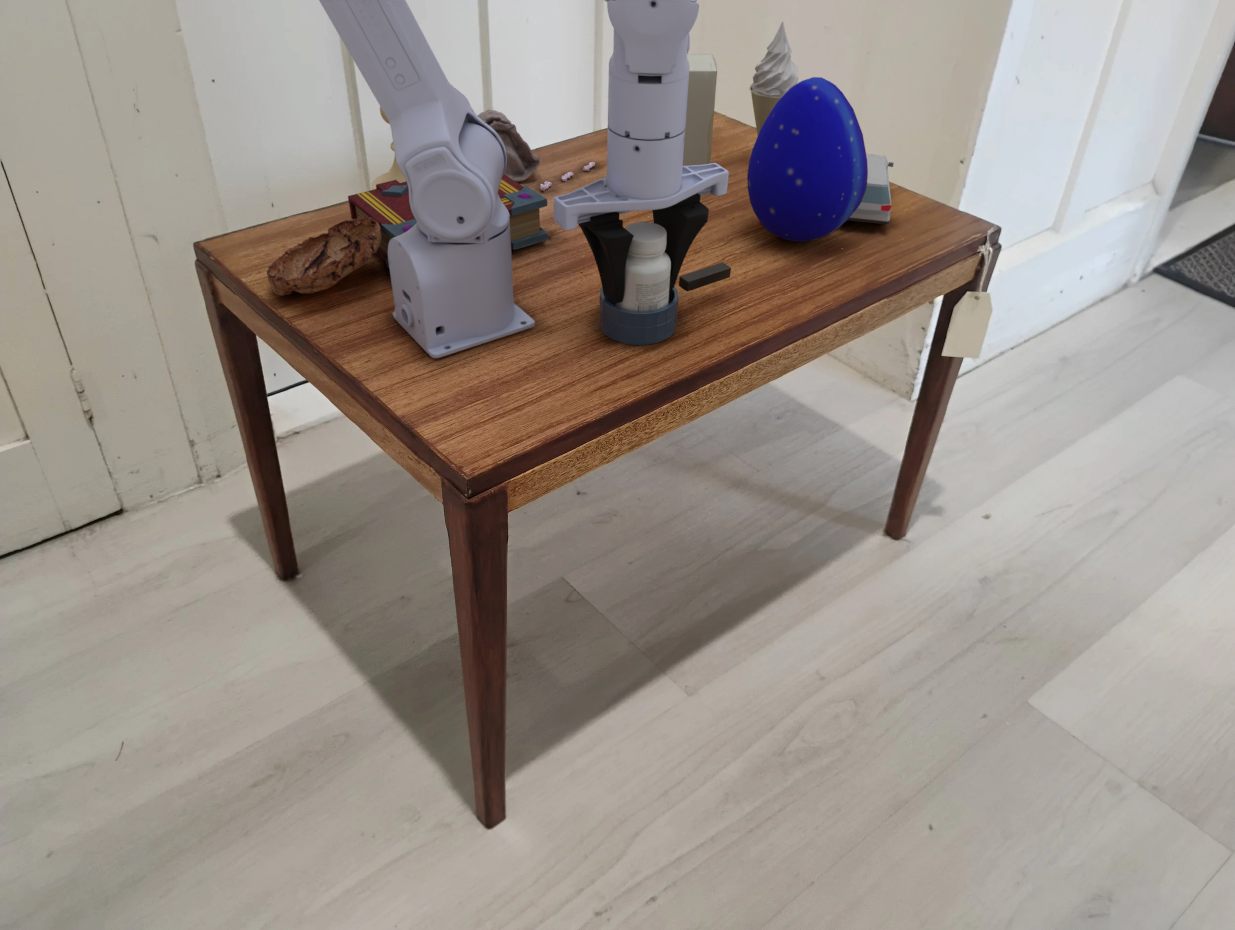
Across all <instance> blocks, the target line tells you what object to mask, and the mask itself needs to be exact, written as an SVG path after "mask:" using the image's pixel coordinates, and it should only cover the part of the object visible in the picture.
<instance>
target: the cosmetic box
mask: <svg viewBox="0 0 1235 930" xmlns="http://www.w3.org/2000/svg"><path fill="white" fill-rule="evenodd" d="M687 59H688V61H689V66H690V68H689V82H688V97H687V112H686V126H685V139H684V152H683V166H693V165H704V164H711V163H712V149H713V133H714V119H715V106H716V105H715V104H716V92H717V80H718V65H717V61H716V58H715V55H714V54H713V53H688V54H687Z"/></svg>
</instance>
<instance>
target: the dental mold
mask: <svg viewBox="0 0 1235 930" xmlns="http://www.w3.org/2000/svg"><path fill="white" fill-rule="evenodd" d="M477 116H478V117H479V118H480V119H481V120H482V121H484V122H485V123H486V124H488V125H489V126H490V127H492V128H493V129H494V130H495V131H496V132H497V134H498V135H499V136H500V138H501V140H502V142H503V143H504V146H505V149H506V154H507V165H506V170H505V173H504V174H505V175H506V176H508V177H509V178H511V179H512V180H514V181H515V182H522V181H526V180H528V179H529V178H530V177H531V176H532V175H533V174H534V173H535V171H537V170H538V169H539V167H540V165H541V158H540V156H538V155H536V154H535V153H533V151H532V149H531V147H530V146H529V144H528V143H527V141H525V140H524V138H523V137H522V136H521V134H520V132H518V131H517V125H516V124H514V123H512V121H511V120H510V119H509V118H508V117H507V116H506V115H505V114H504V113H503V112H500V111H497V110H494V109H486V110H485V111H482V112H480V113H478V114H477Z"/></svg>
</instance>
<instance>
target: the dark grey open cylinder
mask: <svg viewBox="0 0 1235 930" xmlns="http://www.w3.org/2000/svg"><path fill="white" fill-rule="evenodd" d="M679 295H680V294H679V291H678V289H677V287H676V285H675V286H674V288H672V289H669V305H667V306H666V307H664V308H661V309H658V310H654V311H646V312H639V311H629V310H624V309H621V308H618V307H616V306H615V303H613V302H612V301H611V300H610V299H609V298H608V297H607V296H606V295H605V294H603V288H602V286H601V287H600V289H599V309H598V310H599V311H598V312H599V313H598V314H599V315H598V316H599V317H598V319H599V320H598V321H599V322H598V323H599V329H600V330H601V332H602V333H603V334H604V335H605V336H606V337H607V338H609V339H611V340H613V341H616V342H617V343H621V344H624V345H630V346H631V345H632V346H647V345H648V346H649V345H655V344H659V343H661V342H663V341H665V340H668V339H669V338H670V337H672V335H674V334H675V332H676V330H677V325H678V313H679V311H678V310H679V297H680V296H679Z"/></svg>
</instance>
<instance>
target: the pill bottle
mask: <svg viewBox="0 0 1235 930" xmlns="http://www.w3.org/2000/svg"><path fill="white" fill-rule="evenodd" d="M624 228H625V229H626V230H627V231H629V232H630V233H631V234H632V235H634V237H633V239H632V242H631V245H630V248H629V252H628V256H627V261H626V267H625V289H624V297H623V301H622V302H620V303H616V304H615V306H616V307H618V308H621V309H624V310H629V311H639V312H646V311H654V310H658V309H661V308H664V307H666V306H667V305H669V289H670V273H671V261H670V258H669V256H668V255H667V253H665V252H664V251H665V249H666V241H667V232H666V230H665V228H663V227H662V226H660V225H658V224H655V223H654V222H650V221H649V222H648V221H638V222H633V223H630V224H628V225H626V226H625V227H624Z"/></svg>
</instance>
